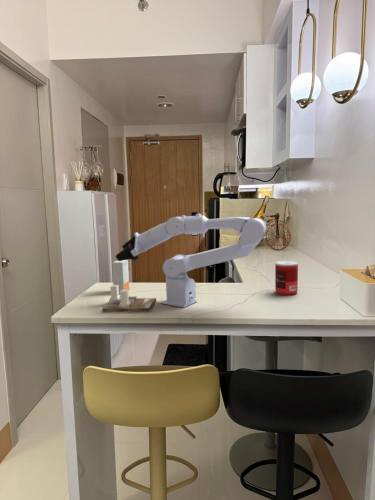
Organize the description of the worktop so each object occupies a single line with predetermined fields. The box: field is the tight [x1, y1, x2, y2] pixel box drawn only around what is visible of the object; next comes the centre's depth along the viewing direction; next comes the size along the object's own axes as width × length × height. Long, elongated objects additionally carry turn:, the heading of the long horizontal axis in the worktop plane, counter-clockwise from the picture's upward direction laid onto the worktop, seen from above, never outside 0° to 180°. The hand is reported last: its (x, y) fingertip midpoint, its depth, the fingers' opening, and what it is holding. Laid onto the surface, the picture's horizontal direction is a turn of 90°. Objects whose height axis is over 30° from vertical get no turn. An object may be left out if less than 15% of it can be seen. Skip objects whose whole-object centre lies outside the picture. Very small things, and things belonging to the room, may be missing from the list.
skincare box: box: [111, 259, 130, 295], centre depth 139 cm, size 6×4×12 cm
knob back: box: [109, 284, 120, 300], centre depth 124 cm, size 3×3×5 cm
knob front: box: [119, 289, 130, 306], centre depth 117 cm, size 3×3×5 cm
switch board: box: [102, 295, 157, 313], centre depth 121 cm, size 15×12×2 cm
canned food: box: [274, 260, 299, 296], centre depth 131 cm, size 8×8×11 cm
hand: (120, 253), depth 127 cm, fingers open, 7 cm apart
